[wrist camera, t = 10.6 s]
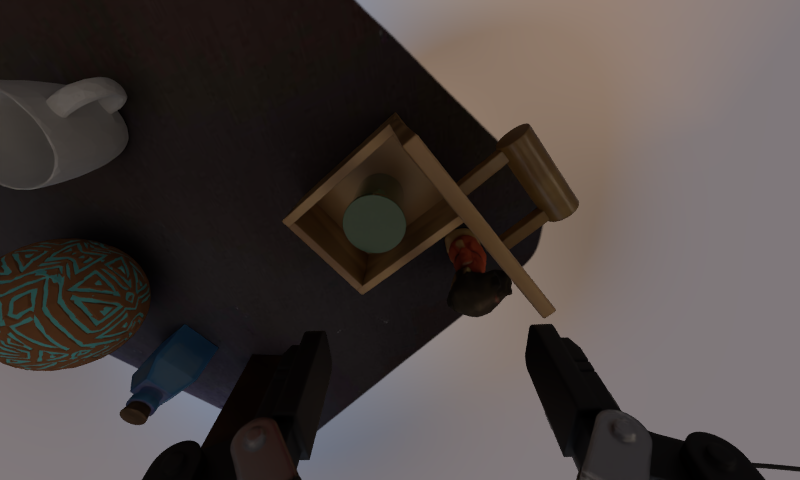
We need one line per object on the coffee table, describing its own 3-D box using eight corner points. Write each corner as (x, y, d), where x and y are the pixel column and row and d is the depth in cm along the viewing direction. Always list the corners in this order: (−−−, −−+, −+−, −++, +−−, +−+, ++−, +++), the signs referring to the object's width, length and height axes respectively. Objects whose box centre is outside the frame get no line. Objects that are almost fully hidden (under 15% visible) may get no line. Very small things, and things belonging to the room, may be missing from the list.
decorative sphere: (56, 283, 46) (-88, 367, 33) (67, 197, 40) (-102, 257, 27) (163, 326, 49) (73, 419, 36) (188, 252, 43) (91, 331, 30)
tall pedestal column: (304, 349, 51) (221, 570, 28) (310, 392, 55) (243, 613, 33) (241, 347, 51) (106, 566, 28) (252, 390, 55) (144, 610, 33)
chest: (369, 259, 43) (362, 295, 36) (303, 195, 39) (281, 221, 32) (459, 191, 39) (471, 217, 32) (395, 111, 35) (393, 120, 28)
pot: (407, 171, 37) (407, 196, 29) (405, 220, 40) (405, 254, 32) (353, 170, 37) (340, 193, 29) (355, 219, 40) (344, 252, 32)
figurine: (459, 216, 40) (479, 267, 30) (494, 238, 42) (525, 294, 31) (430, 253, 43) (438, 312, 32) (464, 273, 44) (482, 336, 33)
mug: (107, 178, 39) (18, 208, 30) (37, 109, 35) (-87, 120, 27) (180, 121, 36) (106, 136, 27) (112, 40, 32) (0, 25, 23)
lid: (544, 319, 17) (633, 260, 16) (401, 146, 13) (505, 53, 12) (468, 221, 32) (513, 186, 30) (389, 124, 28) (436, 80, 27)
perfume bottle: (218, 347, 51) (168, 419, 40) (195, 365, 53) (142, 438, 42) (184, 323, 49) (123, 393, 38) (162, 342, 51) (97, 414, 40)
